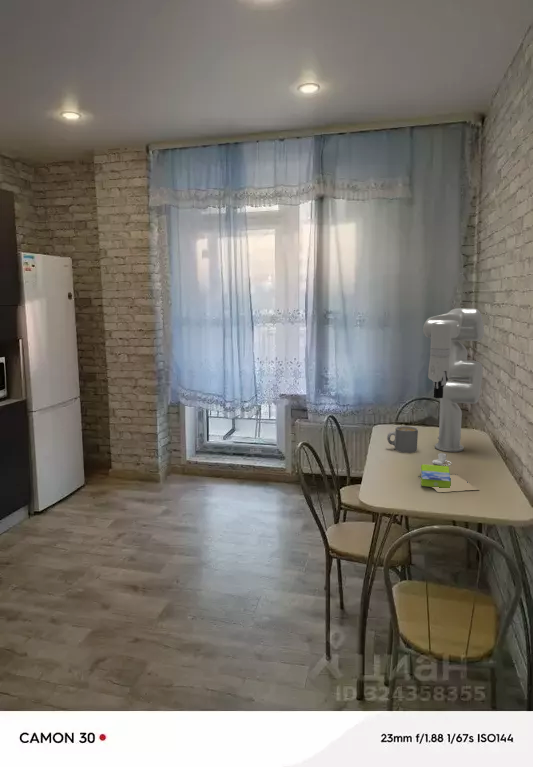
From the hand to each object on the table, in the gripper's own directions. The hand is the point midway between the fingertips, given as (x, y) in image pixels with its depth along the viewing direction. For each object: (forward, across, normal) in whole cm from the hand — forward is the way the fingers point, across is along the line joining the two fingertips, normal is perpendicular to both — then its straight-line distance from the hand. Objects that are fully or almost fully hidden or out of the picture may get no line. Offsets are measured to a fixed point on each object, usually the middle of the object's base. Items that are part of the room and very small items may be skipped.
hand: (438, 397), depth 211 cm
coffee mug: (+30, -26, -4) cm, 40 cm away
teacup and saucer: (+30, -7, +3) cm, 31 cm away
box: (+27, +9, -4) cm, 29 cm away
